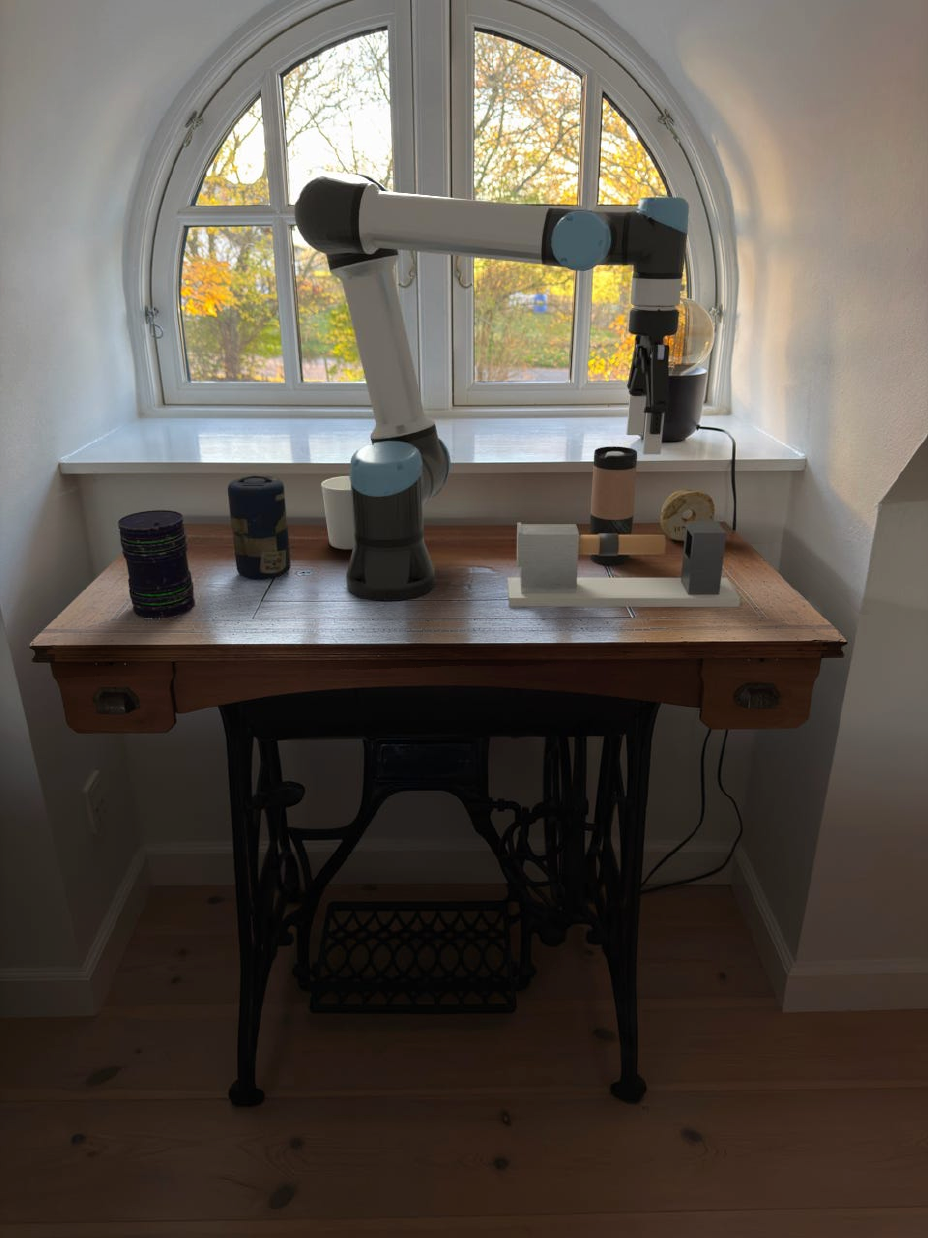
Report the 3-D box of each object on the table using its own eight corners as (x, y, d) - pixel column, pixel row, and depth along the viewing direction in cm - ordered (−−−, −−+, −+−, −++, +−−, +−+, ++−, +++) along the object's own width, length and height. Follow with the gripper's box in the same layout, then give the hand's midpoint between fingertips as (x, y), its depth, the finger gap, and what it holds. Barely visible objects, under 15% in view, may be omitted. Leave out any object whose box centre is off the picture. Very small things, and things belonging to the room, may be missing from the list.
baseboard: (508, 606, 144) (508, 597, 143) (507, 585, 152) (507, 577, 151) (739, 606, 143) (740, 598, 142) (725, 585, 151) (726, 577, 150)
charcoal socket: (688, 594, 144) (694, 532, 140) (680, 580, 149) (686, 521, 145) (719, 594, 144) (726, 532, 139) (710, 581, 149) (717, 521, 145)
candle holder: (378, 549, 170) (375, 488, 165) (326, 552, 168) (321, 490, 163) (374, 533, 178) (371, 474, 174) (325, 536, 177) (320, 477, 172)
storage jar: (124, 604, 146) (108, 517, 140) (183, 591, 151) (170, 506, 145) (144, 624, 138) (128, 533, 132) (205, 609, 144) (192, 520, 138)
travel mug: (628, 552, 167) (636, 446, 159) (631, 566, 160) (639, 456, 152) (587, 551, 168) (593, 445, 160) (588, 565, 161) (594, 455, 153)
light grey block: (517, 593, 145) (518, 532, 141) (516, 581, 150) (517, 522, 145) (576, 593, 145) (579, 532, 140) (573, 581, 149) (576, 522, 145)
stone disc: (706, 535, 176) (711, 485, 172) (713, 541, 172) (719, 491, 168) (655, 537, 175) (659, 487, 171) (661, 543, 171) (665, 493, 167)
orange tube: (527, 558, 143) (528, 537, 142) (526, 551, 147) (527, 530, 145) (664, 558, 143) (666, 537, 141) (660, 551, 146) (662, 530, 145)
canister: (251, 563, 163) (240, 466, 156) (300, 566, 161) (291, 469, 154) (228, 582, 155) (215, 480, 147) (279, 585, 153) (269, 483, 146)
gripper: (700, 315, 126) (683, 462, 135) (661, 300, 149) (649, 427, 158) (647, 315, 126) (634, 462, 135) (616, 300, 149) (607, 427, 157)
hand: (642, 444), depth 146 cm, fingers open, 13 cm apart
